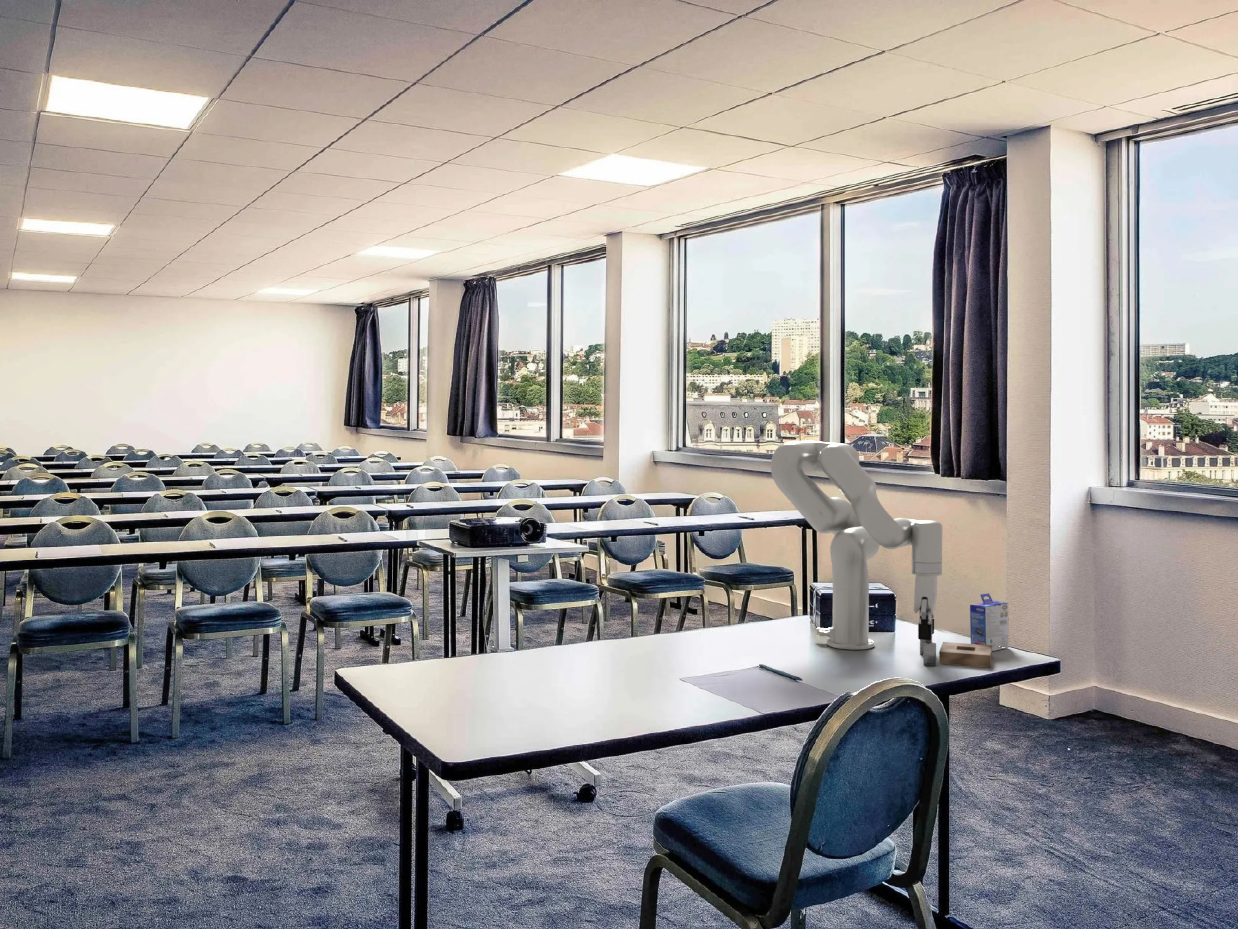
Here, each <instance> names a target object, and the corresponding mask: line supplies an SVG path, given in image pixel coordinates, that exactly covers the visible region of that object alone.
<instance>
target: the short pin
mask: <svg viewBox="0 0 1238 929" xmlns="http://www.w3.org/2000/svg"><path fill="white" fill-rule="evenodd" d="M922 656H923V658H922V659H923V664H922V665H923V667H928V668H935V667H936V666H937V643H936V642H933V641H932V642H925V643H924V649H923V655H922Z"/></svg>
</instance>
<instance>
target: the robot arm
mask: <svg viewBox="0 0 1238 929" xmlns="http://www.w3.org/2000/svg"><path fill="white" fill-rule="evenodd" d="M770 471H771V476H772V479H773V481H774V484H776V487H777V488H778V490H780V492H781V493H782V494H783V495H784V496H785V497H786V499H788V501H789V502H790V504H792V505H793V506H794V508H795V509H796V510H797V512H799V513H800V515H801V516H802V517H803V518H804V519H805V521H807V523H808V524H809V525H810V526H811V527H812V529H814V530H815V531H817V532H818V533H820V534H830V533H832V534H833V535H834V536H833V538H832V540H831V543H830V546H829V547H830V551H829V552H830V553H829V554H830V560H831V570H832V626H831V627H828V628H824V627H817V628H816V632H815V633H816V635H817V636H819V637H828V638H827V639H826V645H827V646H829V647H832V648H834V649H841V650H848V651H849V650H855V651H856V650H857V651H859V650H860V651H861V650H867V649H872V648H874V647H875V641H874V640H873V639H871V638H869V630H870V629H869V628H870V626H869V623H870V622H869V619H870V616H869V612H870V609H869V608H870V598H869V597H870V595H869V594H870V585H869V584H870V579H869V577H870V576H869V570H868V569H869V568H868V564H867V560H870V559H872V558H873V557H875V555H877V553H878V552H879V549H880V546H881V547H883V548H884V549H888V550H895V549H900V548H903V547H907V546H911V574H912V575H914V576H915V579H914V597H913V600H914V602H913V603H914V604H913V612H914V613H915V614H917V613H918V614H919V615H918V616H919V618H918V625H917V631H918V632H917V639H918V640H919V641H920V640H931V624H930V620H931V614H932V635H934V633H935V617H934V615H935V614H934V612H935V611H936V608H937V599H938V598H937V596H938V576H942V574H943V525H942V523H941V521H940V522H939V521H937V520H930V519H929V520H927V519H925V520H924V519H923V520H922V519H921V520H917V519H911V518H906V517H896V518H893V517H892V516H891V514H889V512H888V511H887V510H886V509H885V507H884V506H883V505H882V503H881V502H880V500H879V498H878V495H877V484H876V481H875V480H874V479H873V478H872V477H871V476H870V474H869V473H868V472H867V471H866V470H865V469H864V468H863V467H862V466H861V465H860V454H859V453H858V451H857V449H856V448H855V447H854V446H853V445H851V444H848V443H839V442H825V441H815V440H792V441H787V442H784V443H782V444H780V445H778V447H777V448H776V449H775V451H774V452H773V454H772V458H771V462H770ZM806 471H812V472H821V473H824V474H825V476H826V477H827V478H828V479H829V480H830V481H831V482H832V483H833V484H834V485H835V486H836V488H837V489H838V490H839V492H840V493H841V494H842V496H844V498H846V499H844V498H843V497H842V498H841V497H839V496H832V497H829V496H828V495H827V494H826V493H825V492H824V491H823V489H821V488H820V487H819V486H818V484H817V483H816V482H815V481H814V480H813V479H811V478H810V477H809V476H808V475H806V474H805V473H804V472H806ZM927 611H929V612H927Z"/></svg>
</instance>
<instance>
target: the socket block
mask: <svg viewBox="0 0 1238 929" xmlns="http://www.w3.org/2000/svg"><path fill="white" fill-rule="evenodd" d="M992 659H993V651H992V645H978V644H971V643H962V642H961V643H960V642H949V641H948V642H947V641H942V644H941V646H940V649H939V653H938V664H942V665H952V666H953V665H956V666H965V667H978V668H979V667H982V668H991V665H992Z"/></svg>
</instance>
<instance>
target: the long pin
mask: <svg viewBox="0 0 1238 929" xmlns="http://www.w3.org/2000/svg"><path fill="white" fill-rule="evenodd" d="M927 612H929V611H927ZM932 619H933V618H932V614H931V620H930V624H931V640H920V639H919V656H923V649H924V643H925V642H932V643H933V634H932Z"/></svg>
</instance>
